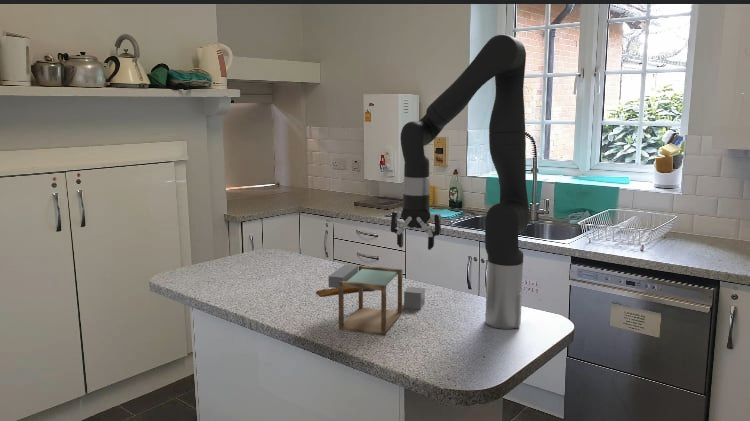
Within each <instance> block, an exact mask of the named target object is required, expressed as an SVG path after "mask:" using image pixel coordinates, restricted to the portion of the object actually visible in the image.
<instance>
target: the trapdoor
mask: <svg viewBox="0 0 750 421" xmlns="http://www.w3.org/2000/svg"><path fill="white" fill-rule="evenodd" d="M396 277H398V274H397V272H392V271H381V270H370V269H362V270H360V271H359V265H352V264H344V265H342V266H341V267H339V268H338V269H337V270H335V271H334V272H332V273H331V274H329V275H328V288H331V289H333V288H339V287H338V282H339V281H347V282H357V283H367V284H377V285H386V287H387V286H388V285H389V284H390V283H391V281H393V280H394V279H395V278H396Z"/></svg>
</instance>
